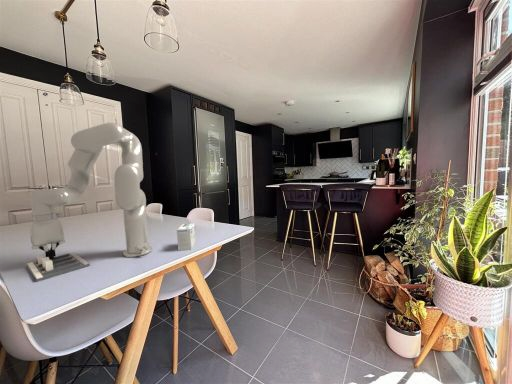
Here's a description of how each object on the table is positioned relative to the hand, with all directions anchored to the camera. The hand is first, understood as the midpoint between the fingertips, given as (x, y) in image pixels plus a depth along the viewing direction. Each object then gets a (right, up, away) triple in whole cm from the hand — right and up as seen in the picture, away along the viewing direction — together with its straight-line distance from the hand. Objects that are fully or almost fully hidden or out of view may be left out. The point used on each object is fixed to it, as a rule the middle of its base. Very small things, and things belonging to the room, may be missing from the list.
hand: (51, 258), depth 95 cm
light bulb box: (+55, +1, +16) cm, 57 cm away
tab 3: (+8, -2, -9) cm, 12 cm away
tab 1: (-2, -1, -2) cm, 3 cm away
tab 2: (+3, -1, -6) cm, 7 cm away
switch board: (+5, -2, -3) cm, 7 cm away
